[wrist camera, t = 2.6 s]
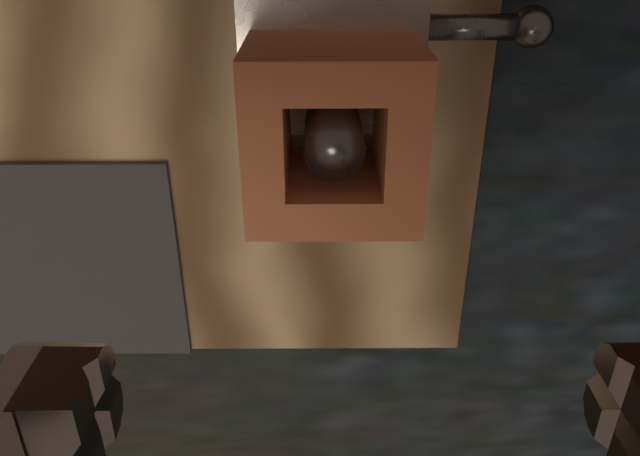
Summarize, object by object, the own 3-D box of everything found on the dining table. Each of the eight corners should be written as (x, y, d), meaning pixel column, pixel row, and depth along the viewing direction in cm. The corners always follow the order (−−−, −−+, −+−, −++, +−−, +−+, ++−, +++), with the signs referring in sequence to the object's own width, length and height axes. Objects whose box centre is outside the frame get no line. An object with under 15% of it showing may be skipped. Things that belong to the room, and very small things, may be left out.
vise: (545, -27, 25) (637, 3, 18) (512, 179, 29) (575, 270, 22) (243, -26, 25) (213, 4, 18) (255, 180, 29) (234, 271, 22)
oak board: (496, -57, 26) (509, -54, 24) (450, 325, 35) (457, 347, 34) (-121, -56, 26) (-153, -52, 24) (-2, 326, 35) (-19, 349, 34)
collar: (415, 29, 22) (439, 61, 18) (404, 180, 25) (423, 241, 21) (249, 29, 22) (232, 61, 18) (258, 181, 25) (244, 241, 21)
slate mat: (167, 160, 28) (165, 164, 28) (191, 348, 34) (190, 353, 33) (-71, 161, 28) (-75, 165, 28) (-10, 349, 34) (-13, 353, 33)
